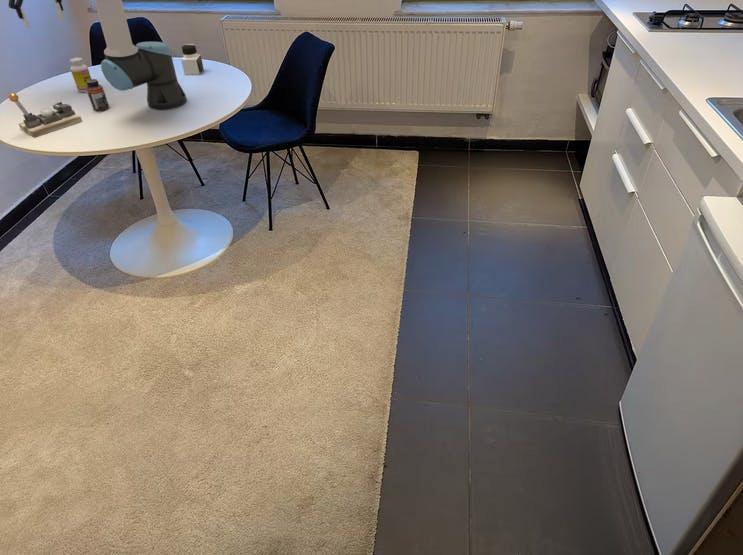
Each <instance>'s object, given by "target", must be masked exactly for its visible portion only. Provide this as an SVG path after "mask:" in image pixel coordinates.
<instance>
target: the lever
mask: <svg viewBox="0 0 743 555" xmlns="http://www.w3.org/2000/svg"><path fill="white" fill-rule="evenodd" d="M19 98H20V97H19V95H18V94H17V93H15V92H10V93H9V94H8V100H9V101H10V102H14V104H16V106H17V108H18V109H20V111H21V112H22V113H23V115H25V116H26V117H27V116H30V114H29V113H30V112H28V110H26V108H25V106H23V104H22V103H21V102H20V100H19Z"/></svg>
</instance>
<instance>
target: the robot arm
mask: <svg viewBox="0 0 743 555" xmlns="http://www.w3.org/2000/svg"><path fill="white" fill-rule="evenodd" d="M62 1H63V0H54V2H53V3H54V6H55V9H56V11H57V14H58V18H59V21H62V22H63V21H66V19H65V16H64V13H63V11H64V7H63V4H62ZM93 1H94V4H95V7H96V11H97V15H98V19H99V22H100V26H101V30H102V33H103V36H104V40H105V44H106V48H105V49H104V50H103V54H104V57H105V58H104V59H103V60H101V62H100V68H101V72H102V74H103V76H104V78H105V79H106V81H107V82H108V83H109V84H110V85H111V86H112V87H113V88H114V89H116V90H117V91H120V92H125V91H129V90H133V89H134V88H137V87H139V86H142V85H144V84H146V85H147V88H146V90H147V91H146V103H147V105H148V108H150V109H152V110H159V111H162V110H163V111H164V110H172V109H175V108H179V107H181V106H183V105H185V104H186V103H187V101H188V99H187V95H186V93H185V91H184V90H183V87H182V86H181V84H180V83H179V81H178V78H177V73H176V70H175V69H176V68H175V64H174V60H173V55H172V53H171V49H170V46H169V45H168V44H167V43H165V42H162V41H142V42H138V43H136V45H135V44H133V41H132V37H131V32H130V28H129V25H128V21H127V16H126V13H125V12H126V11H125V8H124V4H123V0H93ZM23 2H24V0H8V8H9V9H12V10H15V11H16V14H17V16H18V18H19V19H20V20H22V21H23V25H24V26H25V28H27V29H30V28H31V27H30V24H29V21H28V19H27V16H26V14H25V11H24V9H22V5H23Z"/></svg>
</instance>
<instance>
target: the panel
mask: <svg viewBox="0 0 743 555" xmlns="http://www.w3.org/2000/svg"><path fill="white" fill-rule="evenodd" d="M58 104H63V103H62V102H61V101H60V102H57V103H54V105H58ZM68 105H69V104H68ZM68 105H67V106H64V107H61V108H62V110H63V111H57V110H56V111H55V110H54V109H52V111H53V114H54V116H50V117H47V118H43V117H42V115H41V113H39V114H33V113H32V112H28V113H29V114H30V116H27V117H26V116H25V115H24V114H23V115H22V116H23V118H24V120H23V122H21V123H18V125H19V128H20V130H21V129H22V131H23V130H24V131H23V132H25V133H26V134H28V135H30V136H32V137H33V138H37V137H40V136H43V135H46V134H50V133H52V132H55V131H58V130H60V129H64V128H66V127H70V126H72V125H76V124H78V123H81V122H83V120H82V117H81V115H79V114H76V112H75V110H74V109H72V110H70V109H69V106H68Z"/></svg>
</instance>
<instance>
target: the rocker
mask: <svg viewBox="0 0 743 555" xmlns="http://www.w3.org/2000/svg"><path fill="white" fill-rule="evenodd" d="M67 105H68V106H69V109H70V110H73V107H72V106H71V105H70V104H68V103H62V104H58V105H55V104H53V105H52V110H54V111H55V110H56V111H63V110H62V108H61V107H64V106H67Z"/></svg>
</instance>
